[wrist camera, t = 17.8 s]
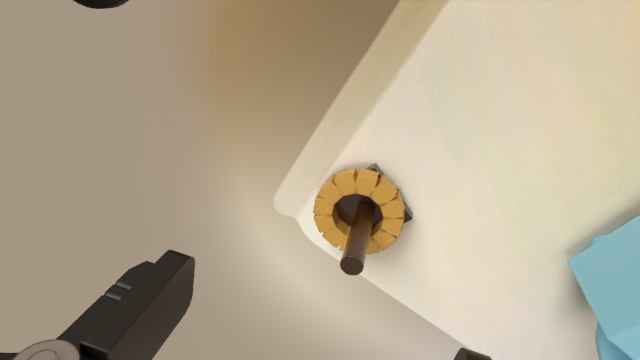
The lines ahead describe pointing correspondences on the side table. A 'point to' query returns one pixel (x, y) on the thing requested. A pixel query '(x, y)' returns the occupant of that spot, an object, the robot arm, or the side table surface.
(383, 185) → the ring
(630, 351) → the teapot
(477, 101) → the side table surface
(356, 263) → the post
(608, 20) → the side table surface
